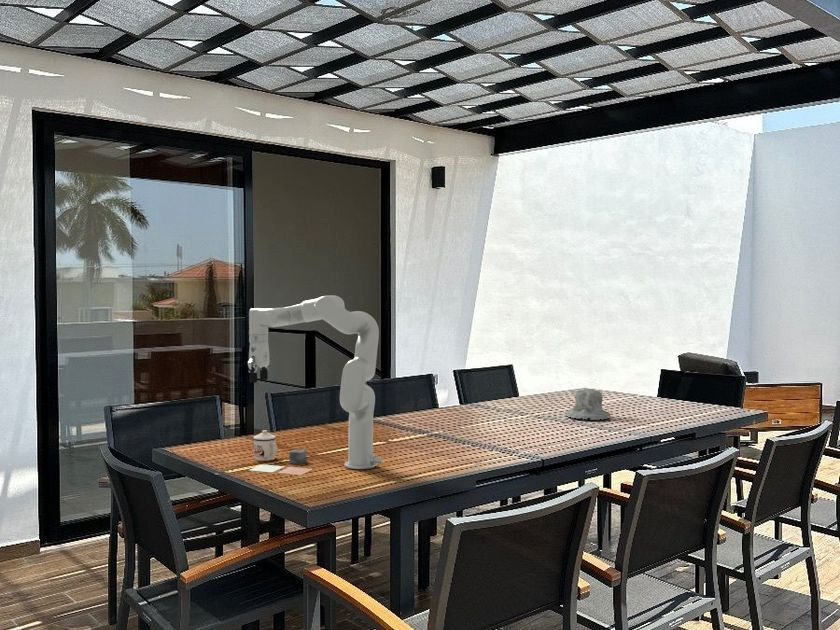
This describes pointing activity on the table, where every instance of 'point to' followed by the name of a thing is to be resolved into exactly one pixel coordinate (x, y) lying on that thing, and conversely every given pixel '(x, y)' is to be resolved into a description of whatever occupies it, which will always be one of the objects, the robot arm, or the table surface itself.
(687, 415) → the table surface
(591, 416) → the hat
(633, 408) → the table surface
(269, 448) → the teacup with lid
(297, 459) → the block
